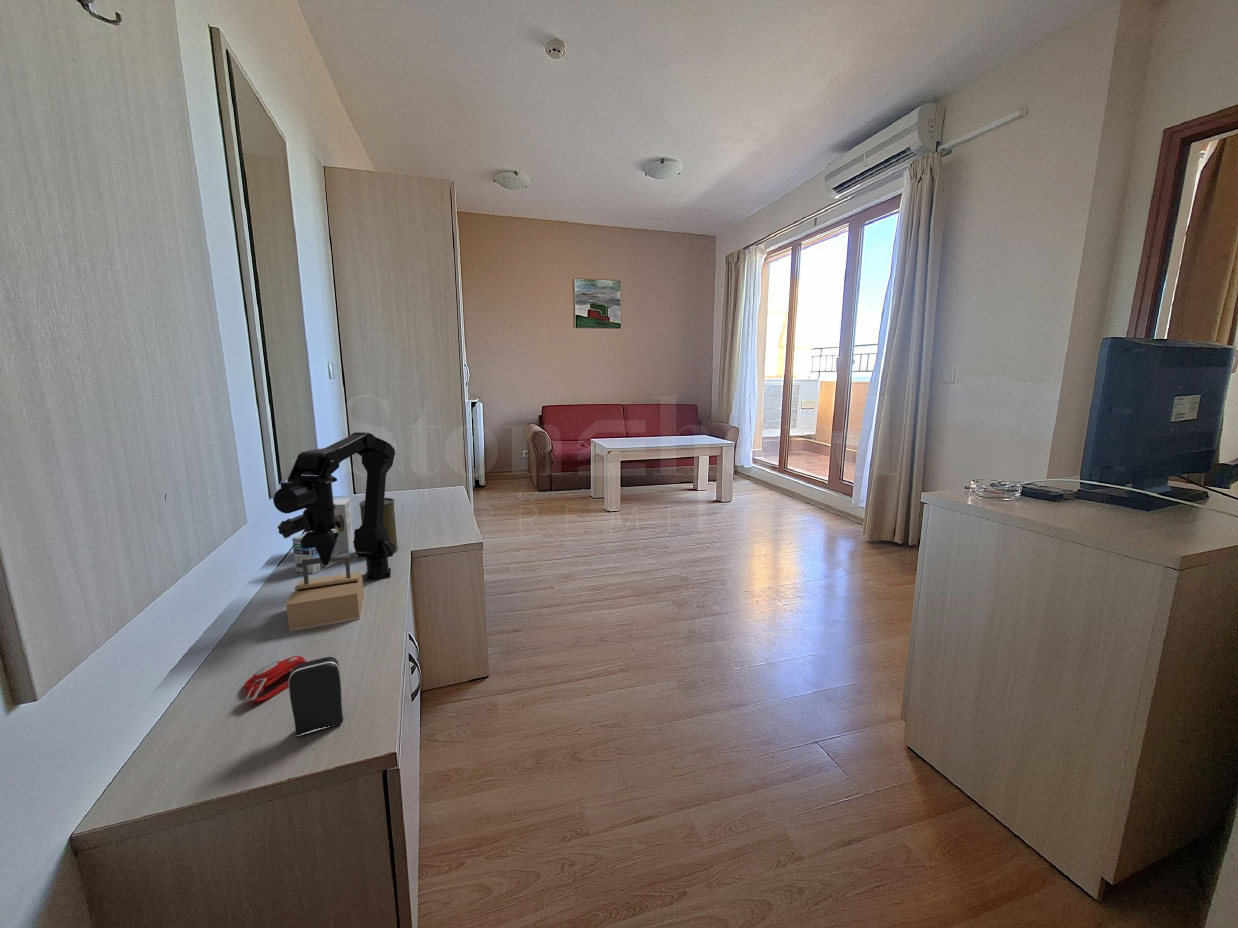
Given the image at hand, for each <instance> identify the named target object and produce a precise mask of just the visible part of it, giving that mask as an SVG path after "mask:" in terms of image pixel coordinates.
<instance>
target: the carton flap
mask: <svg viewBox="0 0 1238 928" xmlns="http://www.w3.org/2000/svg"><path fill="white" fill-rule="evenodd" d="M350 557H351V556H350V554H348V553H347V554H340V555H338V556H331V558H330V561H329V562H335V561H340V562H342V561H343V562H345V563H344V564H345V573H343V574H339V575H337V574H336V575H331V576H323V577H317V578H310V579H309V573H308V568H307V565H312V564H320V563H322V561H321V559H320V558H314V559H306V560H302V566H303V572H302V574H303V579H302V580H299V582H298V583H297V584H296V585H295V587H294V591H295V590H296V589H303V588H310V587H317V586H323V585H330V584H337V583H344V582H350V581H357V580H358V578H359V576H360V574H361V572H360V571H358V572H352V573H351V564H350V559H351V558H350Z"/></svg>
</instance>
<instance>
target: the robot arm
mask: <svg viewBox="0 0 1238 928" xmlns="http://www.w3.org/2000/svg"><path fill="white" fill-rule="evenodd" d="M355 454H357V455H359V456H360V457H361V464H362V466H363V468H364V470H365V471H366V484H365V495H364V501H365V507H364V520H363V524H362V523H361V525H360V526H359V528H355V529H354V532H353V543H354V544H353V548H354V550H355V553H356V555H357V558H358V559H359V558H365V564H366V572H365V577H364V580H365V581H371V580H372V581H373V580H380V579H386V578H390V577H391V571H392V570H391V569H392V568H391V567H389V558H390V557H393V556H394V554H395V553H396V552H395V545H394V544H392V543H391V542H390V541H389V540H388V531H387V530H386V528H385V526H384V524H383V509H384V498H385V493H386V480H387V474H388V472H389V471H390V469H391V468H392V467H393V465H394V460H395V455H396V451H395V448H394V446H392V444H390V443H389V442H388V441H385V440H384V439H381V438H379V437H376V436H375V435H374V434H372V433H370V432H365V431H364V432H359V431H356V432H352V433H351V434H350V435H349V436H347V437H345V438H342V439H340V440H339V441H337V442H334V443H333V444H331V445H329V446H326V447H323V448H316V449H309V450H306V451H302V452H300V453H298V455H297V458H296V460H295V462H294V464H293V467H292V468H291V471H290V472H289V475H288V478H287V481H285V482H281V483H280V488H279V489H278V490H277V491H275V493H274V495H273V497H272V501H273V504H274V507H275V508H276V509H277V510H278V511H279V512H280V513H283V514H291V513H295V512H298V511H301V510H303V512H302V514H299V515H297V516H294V517H292V518H287V519H286V520H281V522H280V523H279V525H278V526H277V529H278V534H279V535H282V537H283V539H288V538H290V537H291V536H292V535H295V534H298V533H299V532H302V531H304V534H305V533H306V534H305V535H304V536H303V537H302V539H301V540H300V542H301V548H302V549H305V548H314V547H315V548H316V550H317V552H318V554H319V556H320V559H321V561H322V563H323V565H328V564H329V561H330V558H331V555H332V552H333V549H334V546H335V543H336V540H337V537H338V534H339V533H333V530H331V529H335V527H336V526H337V527H338V528H341V526H342V525H341V519H340V518H339V517H337V516H335V513H334V509H335V504H334V502H333V499H334V495H333V494H334V493H333V483H334V482H338V478H337V477H335V476H333V473H335V471H337V470H338V469H339V468H340V464H341V462H343V461H344V460H346V459H348V458H350V457H352V456H354V455H355ZM311 531H312V532H311Z"/></svg>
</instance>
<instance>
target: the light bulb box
mask: <svg viewBox="0 0 1238 928" xmlns="http://www.w3.org/2000/svg"><path fill="white" fill-rule="evenodd" d="M331 530H333V533H338V530H337V529H331ZM311 532H312V531H311ZM306 533H307V532H304V533H302V534H299V535H297V536H294V537H292V539H291V541H292V546H293V557H294V559H293V560H294V566H295V567H294V568H295V572H297V573H303V566H302V560H306V559H314V558H320V556H319V554H318V552H317V550H316V548H315V547H314V548H305V549H302V548H301V542H300V540H301V539H302V537H303V536H304V535H305V534H306ZM338 555H341V553H340V551H339V540H338V537H337V540H336V543H335V546H334V549H333V552H332V555H331V556H338ZM340 562H341V561H335V562H329V564H328V565H323V563H320V564H312V565H307V568H308V574H313V575H314V574H316V573H318V572H320V571H322V570H325V569H326V568H329V567H331V566H333V565H335V564H338V563H340Z"/></svg>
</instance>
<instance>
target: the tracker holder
mask: <svg viewBox="0 0 1238 928" xmlns="http://www.w3.org/2000/svg"><path fill="white" fill-rule="evenodd" d="M305 662H307V661H306V659H305V658H304V657H303V656H300V655H293V656H291V657H288V658H285V659H283V660H281V661H280V660H278V661H275V662H272V663H270V664H268V665H266V666H264V667H262V668H260V669H259V670H258V671H256V672H255V673H254V674H253V675H252V676H251V677H249V679H248V680H247V681H245V683H244V685H243V687H244V688H245V689H246V690H247V691H246V693H245V694H244V695H245V697H244V698H243V701H242V703H251V704H254V703H260V702H263V701H266V700H268V699H269V698H272V697H273V696H275V695H277V694H278V693H280V692H282V691H283V690H285V689H286V688H289V679H288V680H287V681H285V682H283V683H282V684H280V685H278V686H277V687H275V688H273V689H272V690H270V691H269V692H267V693H265V695H263V696H259V697H258V695H260V694H261V693H263V691H264V688H265V687H268V686H270V685H272V684H273V683H275V682H277V681H278V679H280V678H282V677H283V676H284V675H286V674H287V673H289V672H290V671H292V670H293V668H294V667H295V666H297V665H298V664H301V663H305Z"/></svg>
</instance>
